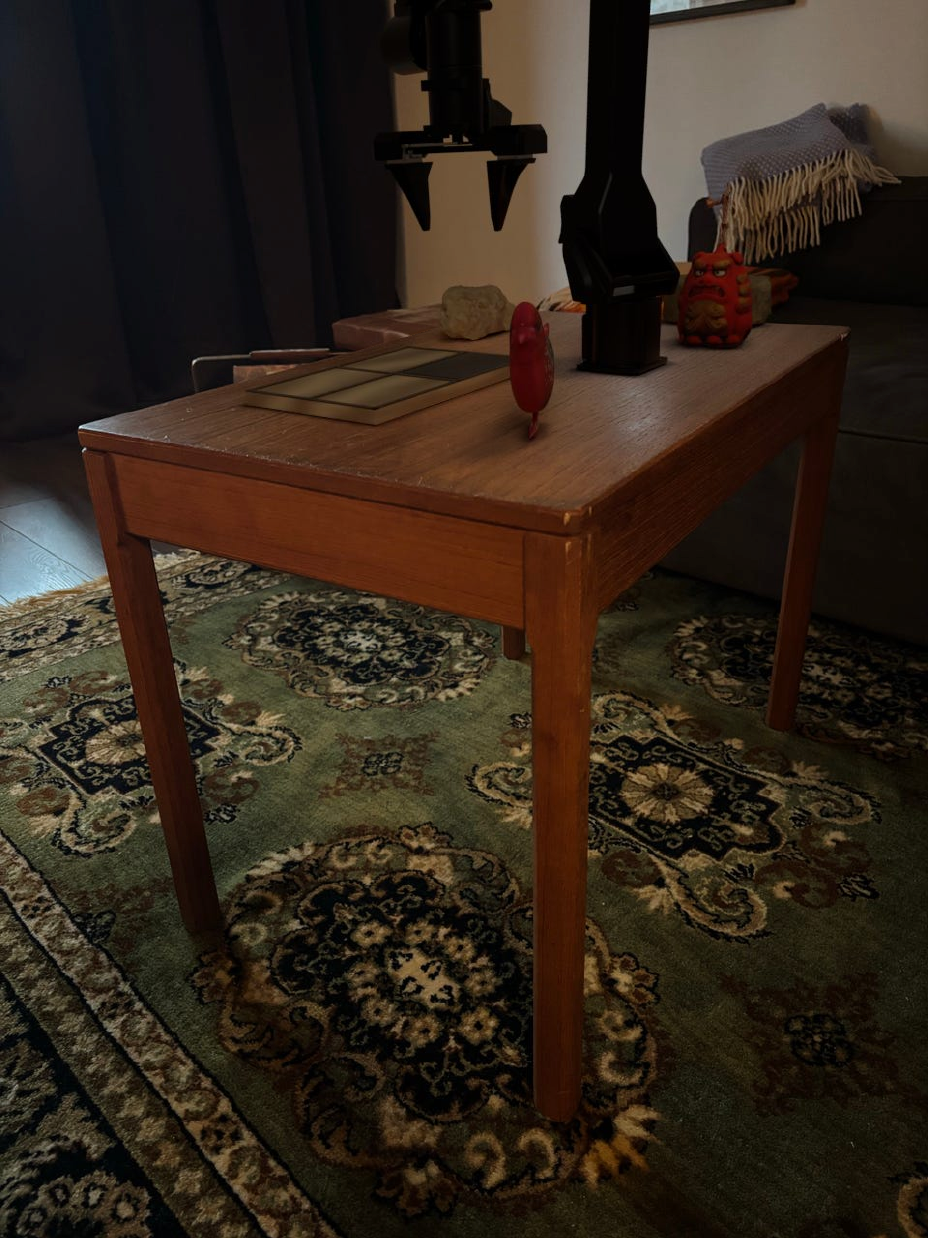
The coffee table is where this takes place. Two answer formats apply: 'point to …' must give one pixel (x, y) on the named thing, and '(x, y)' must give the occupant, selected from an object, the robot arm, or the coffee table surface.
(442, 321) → the stone tool
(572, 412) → the coffee table surface
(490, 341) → the coffee table surface
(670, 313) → the stone block
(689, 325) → the red clay folk toy
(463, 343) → the coffee table surface
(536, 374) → the decorative bird figurine
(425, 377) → the board
